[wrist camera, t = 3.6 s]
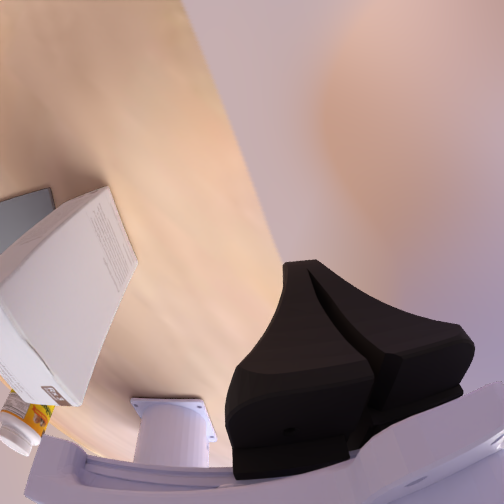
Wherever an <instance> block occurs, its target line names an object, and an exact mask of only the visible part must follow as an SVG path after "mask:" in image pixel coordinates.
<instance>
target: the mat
mask: <svg viewBox="0 0 504 504" xmlns="http://www.w3.org/2000/svg"><path fill="white" fill-rule="evenodd" d="M54 210H55V206H54V202H53V198H52V193H51V189H50V188H46V189H42V190H39V191H35V192H31V193H28V194H25V195H21V196H18V197H15V198H11V199H8V200H5V201H2V202H0V255H1V254H2V253H3V252H4V251H5V250H6V249H7V248H8V247H10V246H11V245H12V244H13V243H14V242H15V241H16V240H18V239H19V238H20V237H21V236H22V235H23V234H25V233H26V232H27V231H28V230H30V229H31V228H32V227H33V226H34V225H36V224H37V223H38V222H40V221H41V220H42V219H43V218H45V217H46V216H47V215H49V214H50V213H51V212H53V211H54Z"/></svg>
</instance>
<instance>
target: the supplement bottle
mask: <svg viewBox="0 0 504 504" xmlns="http://www.w3.org/2000/svg"><path fill="white" fill-rule="evenodd" d="M54 407H55V405H41V404H32V403H27V402H24V401H23V400H22V398H21V397H20V396H19V395H18V394H17V393H16V392H15V391H14V390H13V388H12V390H11V393H10V394H9V396H8V398H7V400H6V402H5V404H4V406H3V408H2V410H1V412H0V421H1V423H2V427H1V429H0V440H1V441H2V442H3V443H5V444H6V445H7V446H8V447H10V448H11V449H13V450H14V451H16V452H18V453H20V454H22V455H24V456H29V454H30V451H31V449H32V445H39V444H40V441H41V438H42V436H43V435H44V433H45V430H46V427H47V425H48V422H49V420H50V417H51V415H52V412H53V410H54Z"/></svg>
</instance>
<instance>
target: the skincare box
mask: <svg viewBox="0 0 504 504" xmlns="http://www.w3.org/2000/svg"><path fill="white" fill-rule="evenodd" d="M137 265H138V261H137V258H136V256H135V254H134V251H133V249H132V246H131V244H130V242H129V239H128V237H127V234H126V231H125V229H124V226H123V224H122V221H121V218H120V216H119V213H118V210H117V208H116V205H115V202H114V199H113V197H112V194H111V191H110V188H109V186H105V187H102V188H99V189H97V190H94V191H91V192H88V193H86V194H83V195H81V196H78V197H76V198H73V199H71V200H69V201H66V202H64V203H63V204H62V205H60V206H59V207H58V208H57V209H55V210H54V211H53V212H51V213H50V214H49V215H47V216H46V217H45V218H43V219H42V220H41V221H40V222H38V223H37V224H36V225H34V226H33V227H32V228H31V229H30V230H28V231H27V232H26V233H25V234H23V235H22V236H21V237H20V238H19V239H18V240H16V241H15V242H14V243H13V244H12V245H11V246H10V247H8V248H7V249H6V250H5V251H4V252H3V253H2V254H1V255H0V375H1V376H2V377H3V378H4V379H5V381H6V382H7V383H8V384H9V385H10V386H11V387H12V388H13V390H14V391H15V392H16V393H17V394H18V395H19V396H20V397H21V398H22V400H23V401H24V402H27V403H32V404H41V405H55V406H76V407H77V406H80V405H82V403H83V400H84V396H85V393H86V390H87V387H88V384H89V381H90V378H91V375H92V373H93V370H94V367H95V364H96V361H97V359H98V356H99V353H100V351H101V348H102V346H103V343H104V340H105V338H106V335H107V333H108V330H109V328H110V326H111V323H112V321H113V318H114V316H115V314H116V311H117V309H118V307H119V304H120V302H121V300H122V297H123V295H124V293H125V291H126V288H127V286H128V284H129V282H130V280H131V278H132V275H133V273H134V271H135V269H136V267H137Z"/></svg>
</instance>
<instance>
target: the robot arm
mask: <svg viewBox="0 0 504 504" xmlns="http://www.w3.org/2000/svg"><path fill="white" fill-rule="evenodd" d="M474 352H475V346H474V343H473V341H472V340H471V339H470V338H469V336H468V335H467V334H466V332H465V331H464V330H463V329H462V327H461V326H460V325H458V324H452V323H447V322H441V321H436V320H431V319H428V318H424V317H420V316H417V315H414V314H411V313H408V312H405V311H402V310H399V309H397V308H394V307H392V306H390V305H387V304H385V303H383V302H381V301H379V300H377V299H375V298H373V297H371V296H369V295H367V294H366V293H364V292H362V291H361V290H359V289H357V288H356V287H354V286H353V285H351V284H350V283H348V282H347V281H345V280H344V279H342V278H341V277H340V276H338V275H337V274H335V273H334V272H333V271H331V270H330V269H328V268H327V267H326V266H325V265H323V264H322V263H321V262H319V261H317V260H305V261H296V262H285V263H284V264H283V290H282V294H281V297H280V300H279V304H278V306H277V309H276V311H275V314H274V316H273V318H272V320H271V322H270V324H269V326H268V328H267V329H266V331H265V333H264V334H263V336H262V337H261V339H260V340H259V341H258V343H257V344H256V345H255V347H254V348H253V349H252V351H251V352H250V353H249V354H248V355H247V356H246V357H245V358H244V359H243V360H242V361H241V363H240V364H239V365H238V366H237V367H236V369H235V372H234V374H233V377H232V380H231V383H230V386H229V389H228V393H227V397H226V403H225V427H226V430H227V433H228V436H229V440H230V443H231V446H232V456H233V467H209V442H216V441H217V436H216V433H215V431H214V428H213V426H212V423H211V420H210V418H209V415H208V412H207V410H206V407H205V404H204V402H203V400H201V399H148V398H131V400H130V403H131V404H132V406H133V407H134V409H135V410H136V412H137V413H138V415H139V416H140V418H141V424H140V429H139V434H138V439H137V444H136V450H135V455H134V461H133V462H126V461H119V460H113V459H107V458H102V457H97V456H92V455H87V454H86V452H85V451H84V450H83V449H82V448H81V447H80V446H78V445H77V444H75V443H73V442H71V441H68V440H64V439H60V438H56V437H53V436H49V435H46V434H44V435H43V436H42V438H41V441H40V444H39V447H38V450H37V453H36V456H35V458H34V461H33V465H32V468H31V471H30V474H29V477H28V481H27V485H26V488H25V492H24V495H25V497H27V498H29V499H30V500H32V501H34V502H35V503H37V504H504V384H503V383H502V381H498V382H493V383H490V384H487V385H485V386H483V387H481V388H479V389H477V390H475V391H473V392H470V393H468V394H466V395H464V396H462V395H463V389H462V388H461V386H460V384H459V383H460V382H461V380H462V378H463V377H464V375H465V373H466V371H467V370H468V368H469V366H470V364H471V362H472V360H473V357H474ZM460 396H462V397H460Z"/></svg>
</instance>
